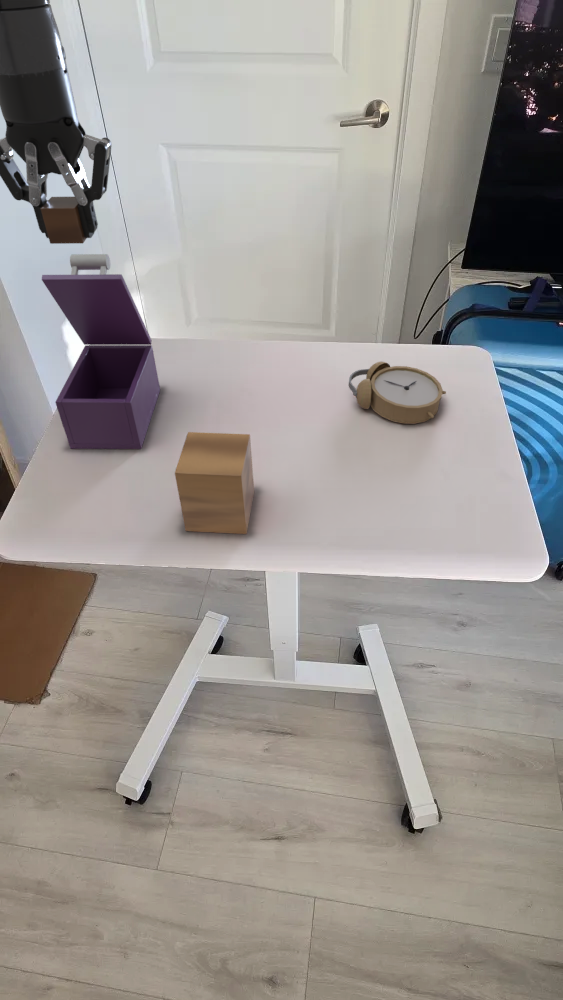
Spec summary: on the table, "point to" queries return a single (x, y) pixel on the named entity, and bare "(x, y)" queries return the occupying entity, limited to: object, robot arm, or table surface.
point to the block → (62, 220)
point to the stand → (216, 482)
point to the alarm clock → (398, 392)
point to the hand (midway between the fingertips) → (71, 235)
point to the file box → (109, 397)
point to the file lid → (98, 303)
